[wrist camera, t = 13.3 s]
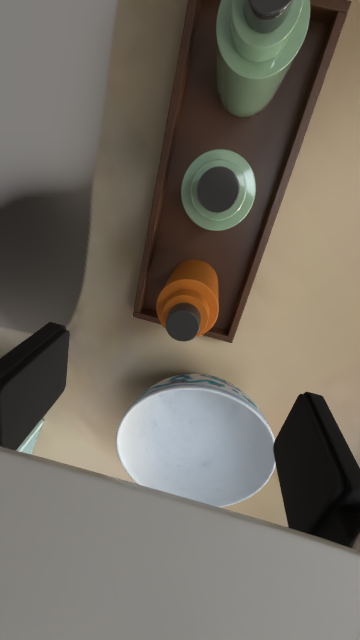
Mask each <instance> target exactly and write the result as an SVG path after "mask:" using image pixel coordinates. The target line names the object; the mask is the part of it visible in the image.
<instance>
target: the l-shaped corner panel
mask: <svg viewBox="0 0 360 640" xmlns="http://www.w3.org/2000/svg"><path fill="white" fill-rule="evenodd" d="M43 421H44V420H43V419H41V420H40V421H39V423H38V424H37V425H36V426H35V428H34V429H33V430H32V431H31V433H30V434H29V435H28V436H27V438H26V439H25V440H24V441H23V443H22V444H21V445H20V446H19V448H18V449H17V450H16V451H19V452H23V453H27V454H31V453H32V450H33V448H34V445H35V442H36V440H37V437H38V434H39V432H40V429H41V427H42V424H43Z"/></svg>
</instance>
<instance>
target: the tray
mask: <svg viewBox="0 0 360 640" xmlns="http://www.w3.org/2000/svg"><path fill="white" fill-rule="evenodd" d="M220 3H221V0H189V1H188V7H187V13H186V18H185V24H184V30H183V35H182V41H181V47H180V52H179V58H178V63H177V69H176V75H175V80H174V86H173V92H172V97H171V103H170V109H169V114H168V120H167V126H166V131H165V137H164V142H163V148H162V154H161V159H160V165H159V171H158V176H157V182H156V188H155V193H154V199H153V205H152V210H151V216H150V222H149V227H148V233H147V238H146V244H145V250H144V255H143V261H142V267H141V272H140V278H139V284H138V289H137V295H136V301H135V306H134V312H133V317H135V318H139V319H143V320H147V321H151V322H154V323H158V324H161V322H160V320H159V318H158V315H157V311H156V303H157V299H158V296H159V294H160V292H161V291H162V289H163V288H164V286H165V284H166V283H167V281H168V279H169V278H170V276H171V275H172V273H173V271H174V270H175V268H176V267H177V266H178V265H179V264H181V263H182V262H184V261H187V260H191V259H198V260H202V261H204V262H206V263H208V264H209V265H210V266H211V267H212V268H213V269H214V270H215V272H216V274H217V277H218V300H219V312H218V317H217V320H216V322H215V324H214V325H213V326H212V328H211V329H210V330H208V331H207V332H206V333H204V334H202V335H204V336H208V337H211V338H215V339H219V340H223V341H227V342H230V343H232V342H233V339H234V336H235V333H236V330H237V327H238V325H239V322H240V319H241V316H242V313H243V310H244V307H245V305H246V302H247V299H248V296H249V293H250V290H251V287H252V285H253V282H254V279H255V276H256V273H257V270H258V267H259V265H260V262H261V259H262V256H263V253H264V250H265V247H266V245H267V242H268V239H269V236H270V233H271V230H272V227H273V225H274V222H275V219H276V216H277V213H278V210H279V207H280V205H281V202H282V199H283V196H284V193H285V190H286V187H287V185H288V182H289V179H290V176H291V173H292V170H293V167H294V164H295V162H296V159H297V156H298V153H299V150H300V147H301V144H302V142H303V139H304V136H305V133H306V130H307V127H308V124H309V122H310V119H311V116H312V113H313V110H314V107H315V104H316V102H317V99H318V96H319V93H320V90H321V87H322V84H323V82H324V79H325V76H326V73H327V70H328V67H329V64H330V62H331V59H332V56H333V53H334V50H335V47H336V44H337V42H338V39H339V36H340V33H341V30H342V27H343V24H344V22H345V19H346V16H347V13H348V10H349V7H350V4H351V1H348V0H310V20H309V26H308V30H307V33H306V36H305V39H304V41H303V43H302V45H301V48H300V49H299V51H298V53H297V55H296V57H295V59H294V60H293V62H292V64H291V66H290V68H289V70H288V71H287V73H286V75H285V77H284V79H283V81H282V82H281V84H280V86H279V88H278V90H277V92H276V94H275V95H274V97H273V99H272V100H271V102H270V103H269V104H268V106H267V107H266V108H265V109H264V110H262V111H261V112H259V113H258V114H256V115H254V116H250V117H238V116H235V115H233V114H231V113H229V112H228V111H227V110H226V109H225V108H224V107H223V105H222V104H221V102H220V100H219V97H218V94H217V88H216V22H217V15H218V10H219V6H220ZM216 149H225V150H230V151H233V152H235V153H237V154H239V155H240V156H242V157H243V158H244V159H245V160H246V161H247V162H248V164H249V165H250V167H251V169H252V171H253V173H254V176H255V181H256V194H255V199H254V202H253V205H252V207H251V209H250V211H249V213H248V214H247V215H246V217H245V218H244V219H243V220H242V221H241V222H239V223H238V224H237V225H235V226H233V227H231V228H229V229H226V230H220V231H212V230H207V229H204V228H202V227H200V226H198V225H197V224H195V223H194V222H193V221H192V220H191V219H190V217H189V216H188V215H187V213H186V211H185V209H184V206H183V203H182V199H181V186H182V181H183V177H184V175H185V173H186V171H187V169H188V167H189V166H190V165H191V163H192V162H193V161H194V160H195V159H196V158H198V157H199V156H200V155H202V154H203V153H206V152H208V151H211V150H216Z"/></svg>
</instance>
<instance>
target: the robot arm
mask: <svg viewBox="0 0 360 640" xmlns="http://www.w3.org/2000/svg"><path fill="white" fill-rule="evenodd" d="M68 348H69V331H68V330H66V327H65V326H63V325H60V324H56V323H52V322H50V323H48V324H46V325H45V326H44V327H42V328H41V329H40V330H38V331H37V332H36V333H34V334H33V335H31V336H30V337H29V338H27V339H26V340H25V341H23V342H22V343H21V344H19V345H18V346H17V347H15V348H14V349H13V350H11V351H10V352H8V353H7V354H6V355H4V356H3V357H2V358H0V640H360V468H359V466H358V464H357V462H356V460H355V458H354V456H353V454H352V453H351V451H350V449H349V447H348V445H347V443H346V441H345V439H344V437H343V435H342V433H341V431H340V429H339V427H338V425H337V423H336V421H335V419H334V417H333V415H332V413H331V411H330V409H329V407H328V405H327V404H326V402H325V400H324V398H323V396H321V395H317V394H314V393H310V392H305V393H304V394H300V395H299V396H298V398H297V399H296V401H295V403H294V405H293V407H292V409H291V411H290V413H289V415H288V417H287V419H286V421H285V422H284V424H283V426H282V428H281V430H280V432H279V434H278V436H277V438H276V440H275V442H274V445H273V453H274V458H275V463H276V468H277V473H278V477H279V482H280V487H281V492H282V497H283V502H284V507H285V511H286V516H287V521H288V526H289V528H288V527H284V526H281V525H278V524H274V523H271V522H268V521H264V520H261V519H257V518H254V517H250V516H247V515H243V514H240V513H237V512H233V511H230V510H226V509H223V508H219V507H216V506H212V505H209V504H206V503H202V502H199V501H195V500H192V499H188V498H185V497H181V496H178V495H174V494H171V493H167V492H164V491H160V490H157V489H153V488H149V487H146V486H142V485H139V484H135V483H132V482H128V481H125V480H121V479H118V478H114V477H111V476H107V475H103V474H100V473H96V472H93V471H89V470H85V469H82V468H78V467H75V466H71V465H67V464H64V463H60V462H57V461H53V460H49V459H46V458H42V457H38V456H35V455H31V454H27V453H23V452H19V451H16V450H17V449H18V448H19V446H20V445H21V444H22V443H23V441H24V440H25V439H26V438H27V436H28V435H29V434H30V433H31V431H32V430H33V429H34V428H35V426H36V425H37V424H38V423H39V421H40V420H41V419H42V418H43V416H44V415H45V414H46V413H47V412H48V410H49V409H50V408H51V407H52V405H53V404H54V403H55V402H56V400H57V399H58V398H59V397H60V395H61V394H62V393H63V391H64V389H65V386H66V376H67V362H68Z"/></svg>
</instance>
